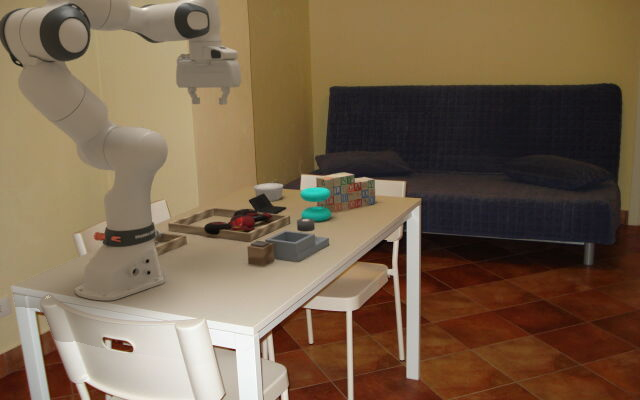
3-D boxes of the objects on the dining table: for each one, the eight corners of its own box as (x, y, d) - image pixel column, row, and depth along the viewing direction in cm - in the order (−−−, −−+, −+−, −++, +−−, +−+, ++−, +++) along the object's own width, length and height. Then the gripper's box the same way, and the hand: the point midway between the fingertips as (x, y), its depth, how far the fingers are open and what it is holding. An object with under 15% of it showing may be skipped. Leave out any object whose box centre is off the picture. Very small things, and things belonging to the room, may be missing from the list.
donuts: (333, 191, 214) (304, 194, 212) (334, 220, 217) (305, 223, 214) (325, 185, 224) (297, 188, 221) (326, 213, 226) (298, 216, 224)
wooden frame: (151, 258, 184) (150, 249, 184) (103, 250, 193) (102, 241, 193) (186, 243, 197) (186, 235, 196) (140, 236, 206) (139, 229, 205)
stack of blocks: (365, 201, 243) (364, 168, 240) (375, 204, 238) (375, 170, 235) (317, 210, 231) (315, 176, 229) (327, 214, 226) (325, 179, 223)
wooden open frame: (249, 241, 196) (248, 233, 196) (168, 230, 212) (168, 223, 211) (290, 223, 215) (289, 215, 215) (213, 214, 231) (213, 207, 231)
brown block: (263, 266, 174) (262, 246, 172) (248, 264, 176) (247, 244, 175) (274, 261, 178) (273, 241, 176) (259, 258, 180) (257, 239, 179)
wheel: (309, 232, 186) (308, 223, 185) (294, 230, 188) (293, 221, 188) (317, 227, 190) (317, 218, 189) (303, 226, 192) (302, 217, 192)
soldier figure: (121, 253, 194) (147, 231, 202) (133, 263, 194) (159, 241, 202) (127, 239, 188) (154, 217, 197) (140, 250, 188) (167, 227, 197)
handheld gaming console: (277, 212, 225) (261, 188, 226) (262, 224, 227) (245, 201, 228) (288, 208, 236) (272, 186, 237) (273, 220, 238) (257, 198, 239)
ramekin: (253, 197, 256) (252, 184, 255) (281, 195, 258) (281, 181, 257) (256, 203, 246) (255, 189, 244) (285, 201, 248) (284, 187, 246)
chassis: (298, 261, 176) (297, 243, 175) (264, 256, 182) (263, 239, 180) (329, 244, 190) (328, 228, 189) (297, 240, 196) (296, 224, 195)
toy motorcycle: (201, 239, 203) (244, 235, 196) (197, 223, 203) (241, 219, 196) (243, 222, 226) (283, 219, 219) (240, 208, 225) (280, 203, 218)
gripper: (169, 54, 180) (173, 104, 183) (228, 52, 170) (232, 105, 173) (184, 53, 186) (188, 103, 189) (242, 51, 176) (245, 103, 179)
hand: (209, 104), depth 181 cm, fingers open, 8 cm apart
